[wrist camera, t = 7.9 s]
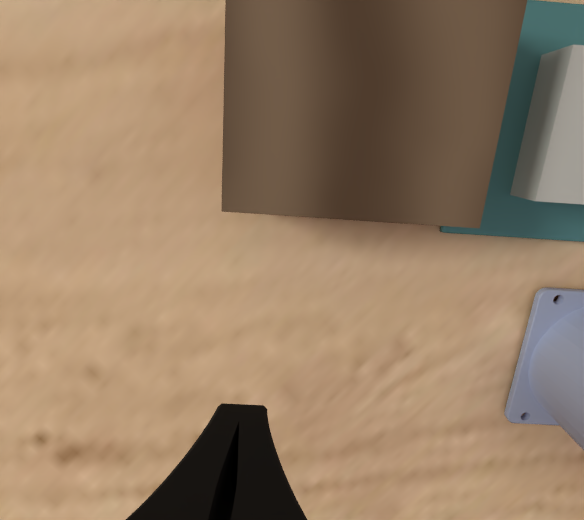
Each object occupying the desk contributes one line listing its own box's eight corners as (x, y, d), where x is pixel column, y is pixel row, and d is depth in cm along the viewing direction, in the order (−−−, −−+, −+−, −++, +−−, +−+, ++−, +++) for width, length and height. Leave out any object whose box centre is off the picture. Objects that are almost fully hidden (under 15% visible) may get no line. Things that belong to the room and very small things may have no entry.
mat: (651, 13, 17) (657, 11, 17) (585, 240, 20) (590, 242, 20) (481, -2, 17) (485, -4, 17) (439, 231, 20) (441, 232, 19)
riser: (474, 25, 17) (529, -8, 13) (441, 210, 19) (479, 228, 16) (239, 5, 17) (226, -35, 13) (234, 196, 19) (221, 211, 15)
